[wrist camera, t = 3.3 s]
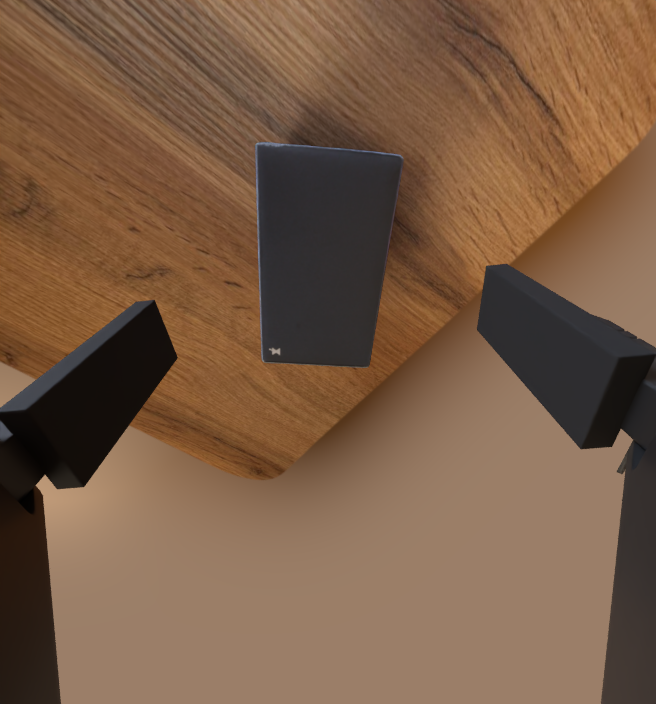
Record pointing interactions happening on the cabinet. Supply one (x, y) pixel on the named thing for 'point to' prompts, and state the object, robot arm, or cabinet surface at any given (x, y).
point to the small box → (322, 250)
